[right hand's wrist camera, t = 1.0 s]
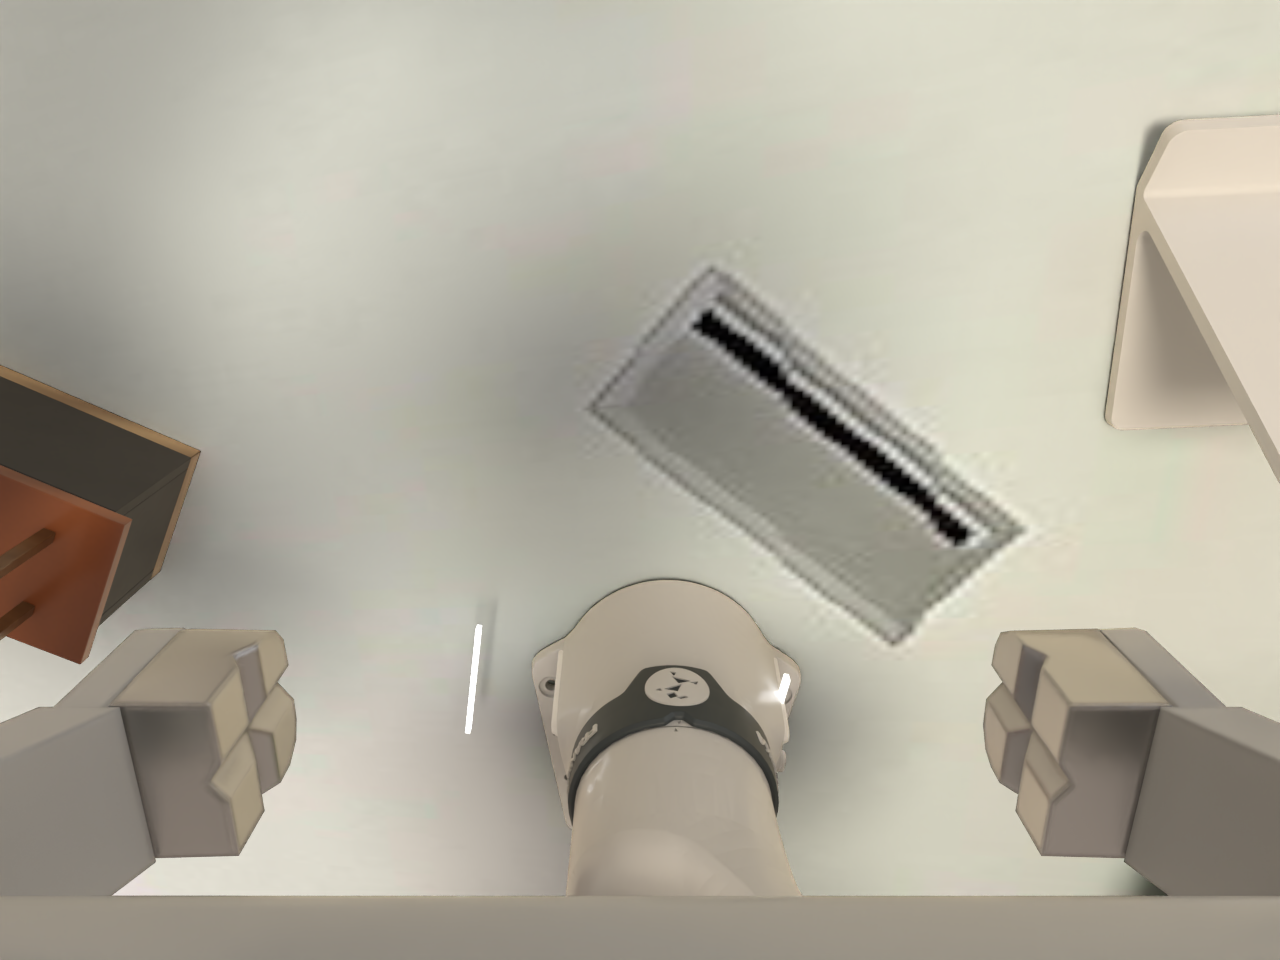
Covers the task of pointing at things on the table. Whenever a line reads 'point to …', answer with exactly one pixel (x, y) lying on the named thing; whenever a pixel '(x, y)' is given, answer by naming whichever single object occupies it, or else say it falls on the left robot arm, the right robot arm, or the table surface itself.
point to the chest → (99, 469)
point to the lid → (55, 565)
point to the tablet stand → (1204, 284)
